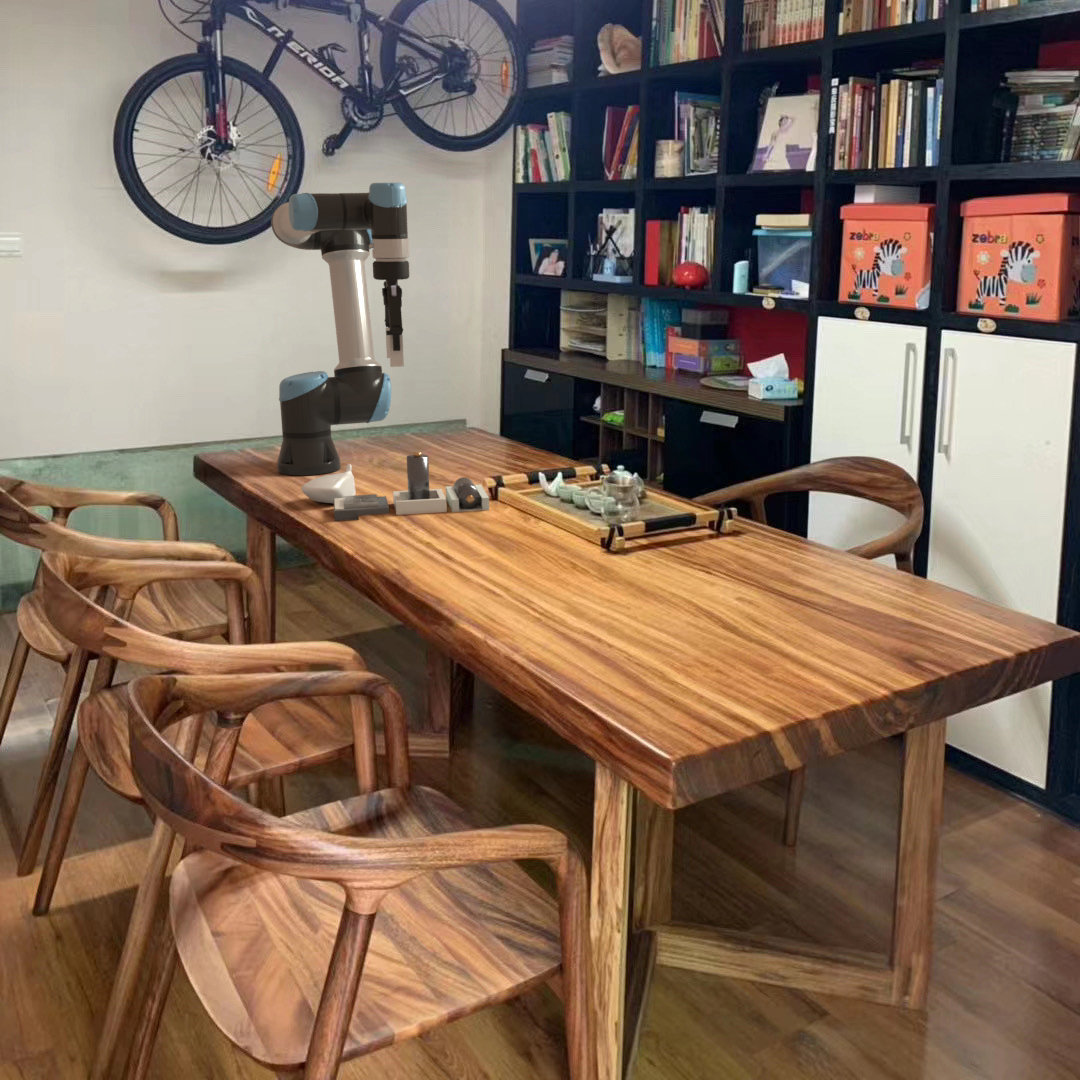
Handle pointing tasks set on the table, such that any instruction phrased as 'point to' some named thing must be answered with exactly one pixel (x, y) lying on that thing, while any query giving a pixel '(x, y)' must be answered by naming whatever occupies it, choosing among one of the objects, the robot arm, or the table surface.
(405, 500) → the white square tray
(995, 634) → the table surface
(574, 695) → the table surface
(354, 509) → the grey square base pad
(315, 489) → the white rounded lump
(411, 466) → the cell
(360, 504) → the plate
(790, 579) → the table surface
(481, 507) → the trough
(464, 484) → the cell
